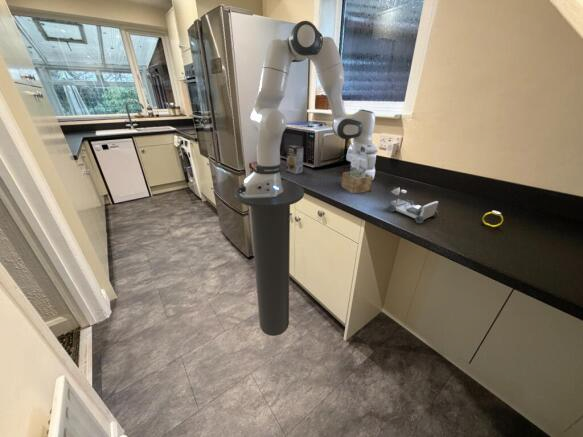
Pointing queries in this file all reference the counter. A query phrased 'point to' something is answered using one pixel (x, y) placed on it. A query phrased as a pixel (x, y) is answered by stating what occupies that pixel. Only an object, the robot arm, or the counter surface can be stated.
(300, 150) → the coffee box
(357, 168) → the syrup box
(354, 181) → the box
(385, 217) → the counter surface
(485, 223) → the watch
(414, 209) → the toy car
